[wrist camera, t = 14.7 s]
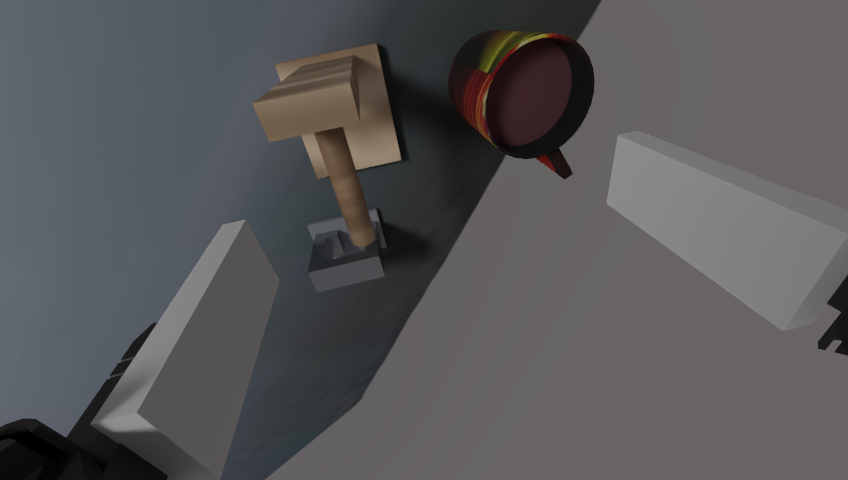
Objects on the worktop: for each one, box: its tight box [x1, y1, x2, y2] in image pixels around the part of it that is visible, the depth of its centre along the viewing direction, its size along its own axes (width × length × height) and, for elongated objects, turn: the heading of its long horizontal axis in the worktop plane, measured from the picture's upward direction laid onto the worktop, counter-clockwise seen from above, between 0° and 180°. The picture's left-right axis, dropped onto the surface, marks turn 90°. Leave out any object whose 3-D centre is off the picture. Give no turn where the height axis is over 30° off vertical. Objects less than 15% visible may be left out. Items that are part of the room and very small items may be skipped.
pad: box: [307, 208, 387, 259], centre depth 44 cm, size 6×9×1 cm, turn 100°
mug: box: [448, 30, 594, 179], centre depth 33 cm, size 10×14×12 cm
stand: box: [253, 43, 401, 247], centre depth 29 cm, size 13×10×20 cm
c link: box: [308, 221, 385, 292], centre depth 41 cm, size 8×3×8 cm, turn 100°
